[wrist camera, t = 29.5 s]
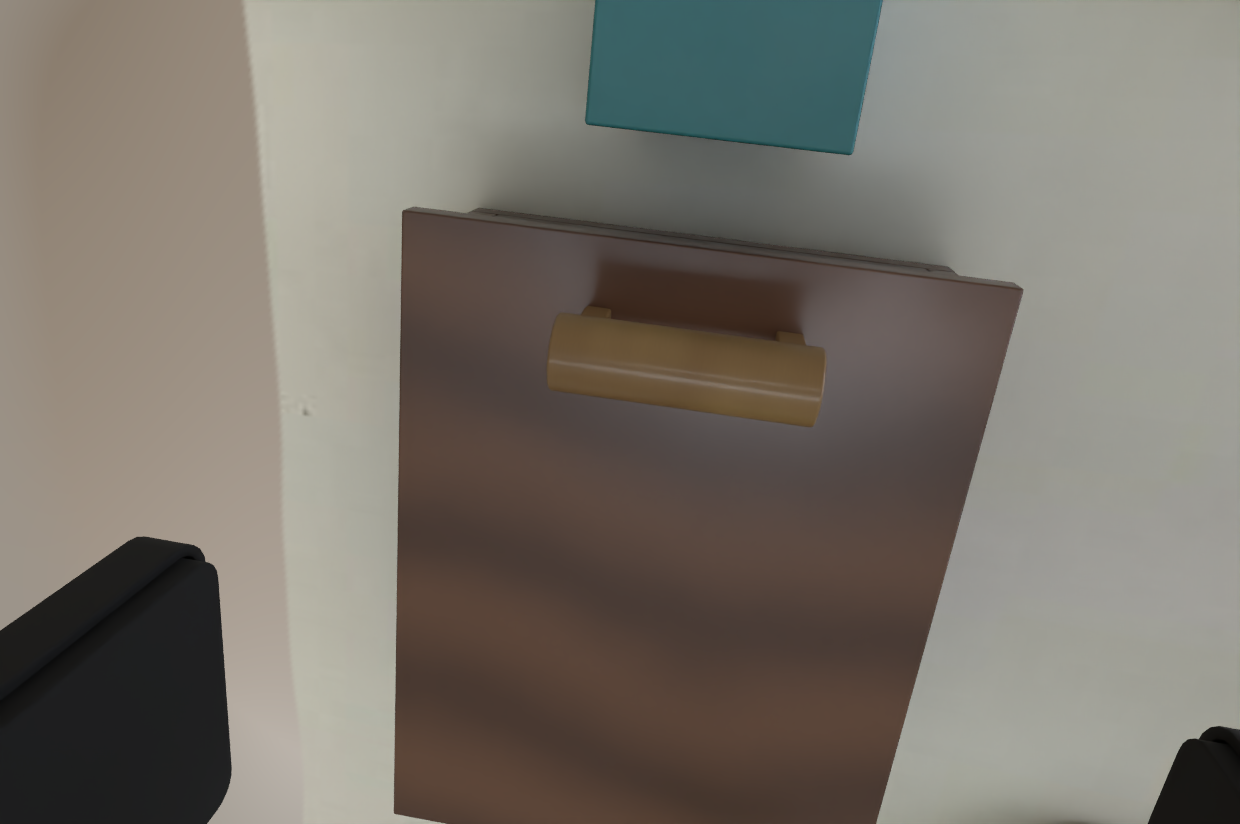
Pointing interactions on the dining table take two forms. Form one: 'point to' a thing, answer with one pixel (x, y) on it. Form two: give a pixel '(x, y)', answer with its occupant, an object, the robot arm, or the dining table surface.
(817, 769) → the chest lid
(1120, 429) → the dining table surface
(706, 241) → the chest
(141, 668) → the robot arm
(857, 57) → the container
